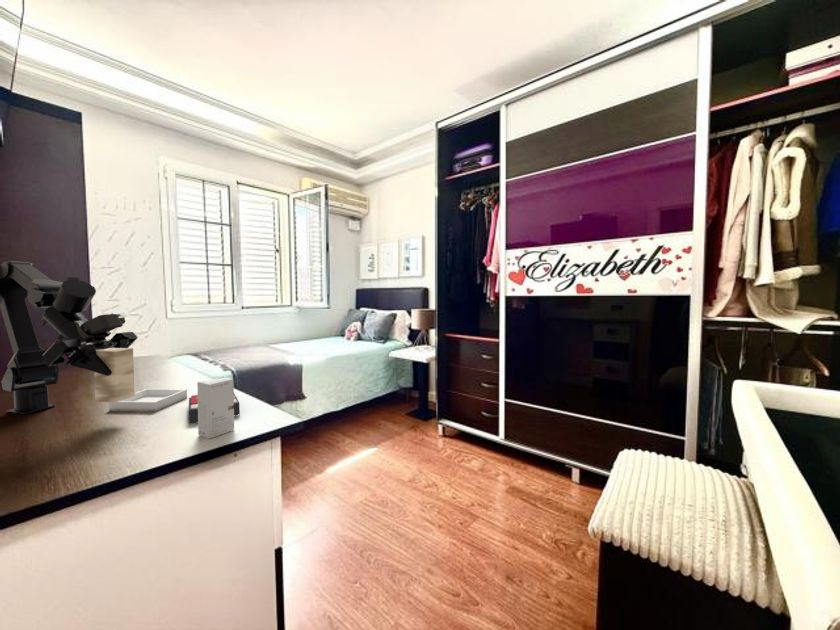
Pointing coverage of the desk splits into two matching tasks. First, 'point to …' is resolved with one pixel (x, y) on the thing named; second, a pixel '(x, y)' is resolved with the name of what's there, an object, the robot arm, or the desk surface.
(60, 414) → the desk surface
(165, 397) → the white tray
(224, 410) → the skincare box
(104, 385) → the birch block
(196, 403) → the calculator
